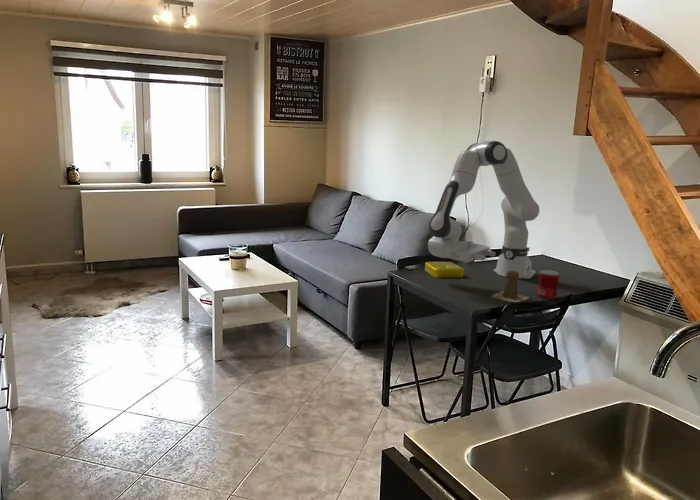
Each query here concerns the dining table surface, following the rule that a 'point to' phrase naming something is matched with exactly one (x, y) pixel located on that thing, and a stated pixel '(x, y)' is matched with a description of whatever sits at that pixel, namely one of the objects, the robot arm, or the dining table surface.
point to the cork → (511, 285)
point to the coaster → (501, 297)
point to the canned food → (548, 284)
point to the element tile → (443, 269)
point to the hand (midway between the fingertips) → (489, 256)
